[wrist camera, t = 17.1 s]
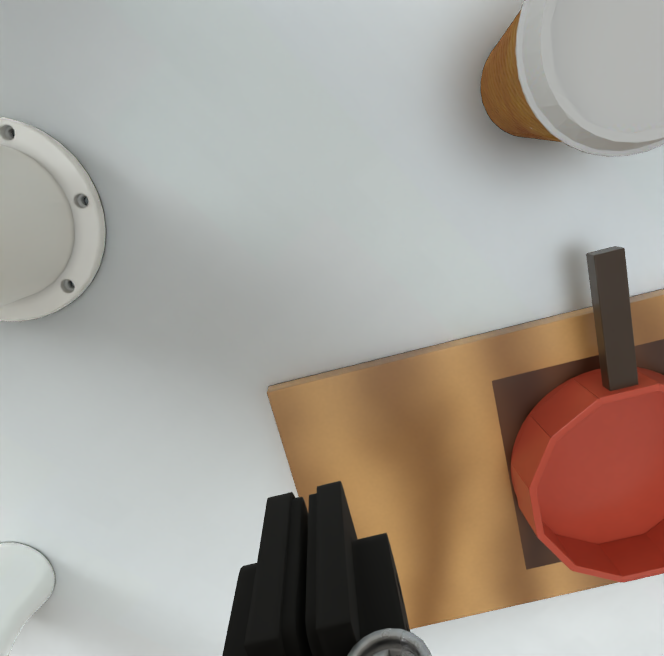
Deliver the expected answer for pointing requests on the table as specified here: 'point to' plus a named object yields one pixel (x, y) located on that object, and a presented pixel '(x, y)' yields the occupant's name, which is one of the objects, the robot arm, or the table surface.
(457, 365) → the board
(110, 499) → the table surface
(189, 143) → the table surface
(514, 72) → the disposable coffee cup
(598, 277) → the skillet
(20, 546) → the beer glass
